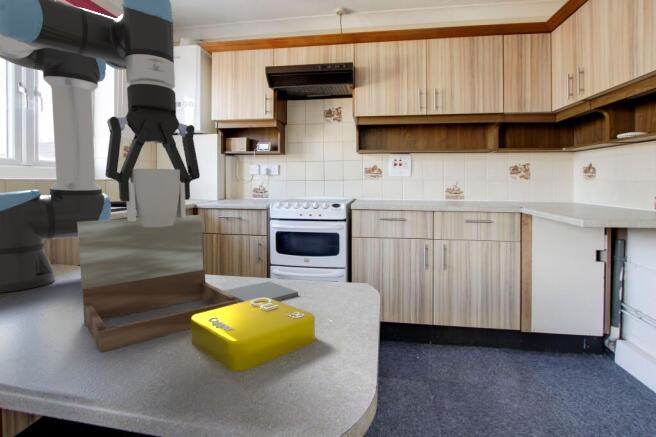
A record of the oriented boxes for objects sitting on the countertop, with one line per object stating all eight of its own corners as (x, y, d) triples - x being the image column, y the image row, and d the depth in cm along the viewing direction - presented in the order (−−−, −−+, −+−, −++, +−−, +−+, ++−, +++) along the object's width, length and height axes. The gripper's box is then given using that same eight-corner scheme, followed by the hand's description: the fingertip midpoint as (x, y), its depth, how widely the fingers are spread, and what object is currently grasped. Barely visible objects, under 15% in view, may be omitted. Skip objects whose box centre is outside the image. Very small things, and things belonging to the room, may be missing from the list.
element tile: (186, 342, 57) (185, 312, 57) (265, 317, 68) (265, 292, 67) (235, 377, 46) (234, 341, 46) (320, 342, 57) (320, 312, 56)
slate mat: (223, 294, 81) (223, 290, 81) (269, 284, 89) (269, 281, 89) (249, 307, 72) (249, 303, 72) (298, 295, 80) (298, 291, 80)
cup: (190, 223, 68) (188, 170, 67) (166, 228, 60) (164, 168, 59) (149, 223, 69) (147, 170, 68) (121, 228, 61) (118, 168, 60)
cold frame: (83, 320, 65) (77, 222, 64) (203, 296, 80) (200, 215, 78) (100, 352, 53) (92, 230, 51) (238, 316, 67) (235, 220, 65)
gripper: (84, 70, 53) (93, 225, 55) (217, 93, 66) (220, 217, 68) (77, 81, 58) (86, 221, 61) (201, 100, 72) (205, 214, 74)
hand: (157, 218), depth 64 cm, fingers closed on cup, 8 cm apart
